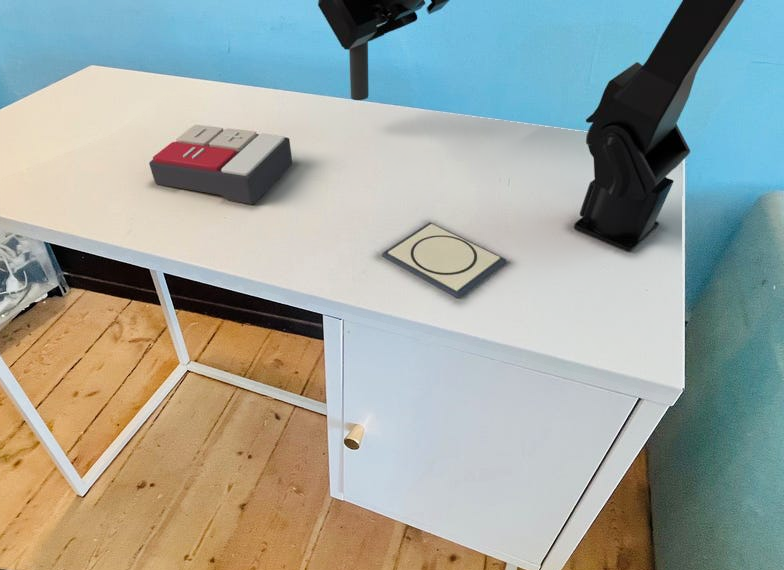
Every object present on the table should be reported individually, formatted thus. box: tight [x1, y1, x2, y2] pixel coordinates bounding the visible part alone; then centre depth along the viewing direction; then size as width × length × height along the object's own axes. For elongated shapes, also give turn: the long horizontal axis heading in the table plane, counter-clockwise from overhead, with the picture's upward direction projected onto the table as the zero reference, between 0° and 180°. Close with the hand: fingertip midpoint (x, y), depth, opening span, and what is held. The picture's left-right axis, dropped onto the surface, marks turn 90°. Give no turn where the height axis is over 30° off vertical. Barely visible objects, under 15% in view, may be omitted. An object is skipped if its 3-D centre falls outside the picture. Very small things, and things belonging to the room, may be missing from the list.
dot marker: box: [348, 42, 369, 101], centre depth 74 cm, size 2×2×10 cm
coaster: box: [381, 221, 507, 299], centre depth 60 cm, size 10×8×1 cm
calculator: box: [148, 124, 293, 205], centre depth 73 cm, size 11×4×15 cm
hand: (350, 43), depth 73 cm, fingers closed on dot marker, 2 cm apart
